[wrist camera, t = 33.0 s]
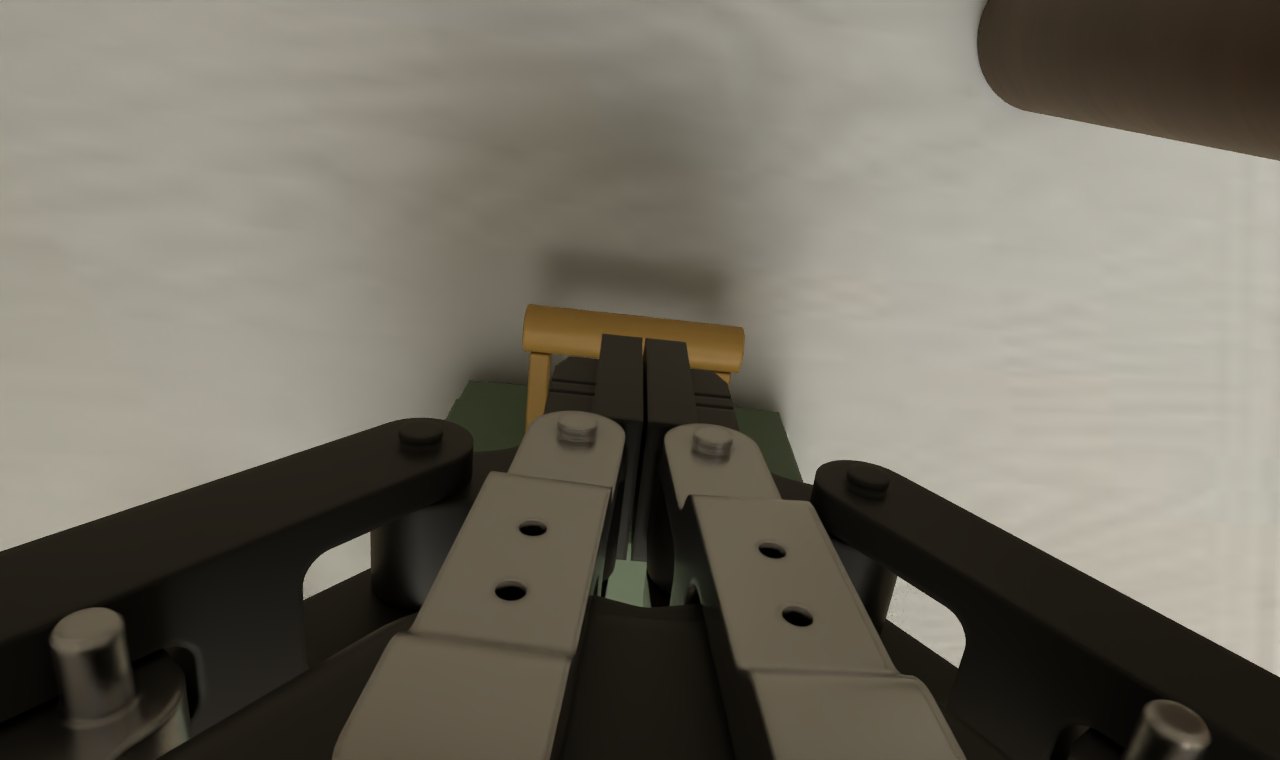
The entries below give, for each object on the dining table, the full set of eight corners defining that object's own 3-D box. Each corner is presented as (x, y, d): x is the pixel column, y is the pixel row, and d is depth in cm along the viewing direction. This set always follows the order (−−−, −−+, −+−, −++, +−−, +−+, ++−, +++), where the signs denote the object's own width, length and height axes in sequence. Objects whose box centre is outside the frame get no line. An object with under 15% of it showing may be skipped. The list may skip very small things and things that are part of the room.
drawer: (472, 264, 28) (422, 329, 22) (800, 300, 28) (842, 373, 22) (458, 673, 35) (418, 811, 29) (724, 698, 35) (740, 840, 29)
